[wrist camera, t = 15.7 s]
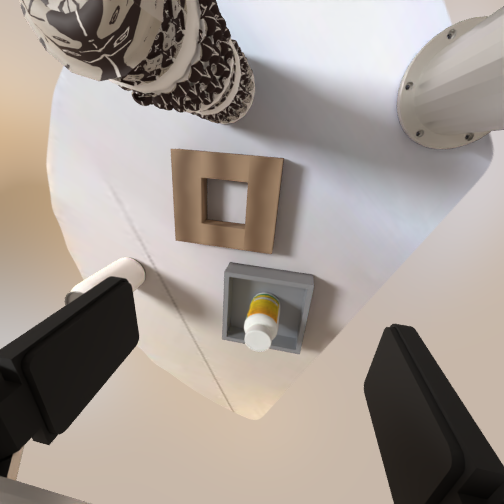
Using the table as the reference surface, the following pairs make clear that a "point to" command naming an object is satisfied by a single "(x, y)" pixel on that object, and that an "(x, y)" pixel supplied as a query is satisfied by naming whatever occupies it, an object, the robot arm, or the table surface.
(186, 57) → the decorative candle
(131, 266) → the can
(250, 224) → the brown wooden square frame
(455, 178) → the table surface
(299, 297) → the tray
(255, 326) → the supplement bottle
